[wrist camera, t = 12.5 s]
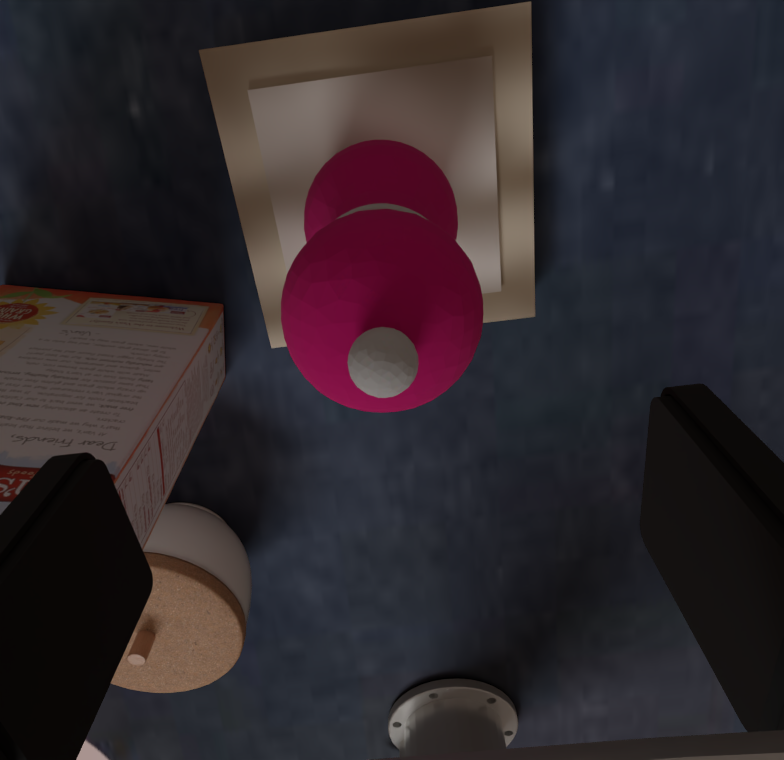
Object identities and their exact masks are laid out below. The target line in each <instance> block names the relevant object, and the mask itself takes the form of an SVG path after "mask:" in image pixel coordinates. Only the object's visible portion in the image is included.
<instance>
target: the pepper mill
mask: <svg viewBox="0 0 784 760" xmlns="http://www.w3.org/2000/svg"><path fill="white" fill-rule="evenodd" d="M457 230H458V215H457V205H456V201H455V197H454V193H453V190H452V188H451V185H450V183H449V181H448V179H447V178H446V176H445V174H444V173H443V171H442V170H441V169H440V168H439V166H438V165H437V164H436V163H435V162H434V161H433V160H432V159H431V158H429V157H428V156H427V155H426V154H425V153H423V152H421V151H420V150H418V149H416V148H414V147H412V146H410V145H407V144H404V143H402V142H397V141H392V140H369V141H363V142H360V143H357V144H354V145H351V146H349V147H347V148H345V149H343V150H342V151H340V152H338V153H336V154H335V155H334V156H333V157H332V158H331V159H330V160H328V161H327V162H326V163H325V164H324V165H323V167H322V168H321V169H320V171H319V172H318V173H317V175H316V176H315V178H314V180H313V182H312V184H311V186H310V189H309V191H308V195H307V198H306V202H305V210H304V232H305V237H306V242H307V243H306V244H305V245H304V247H303V248H302V249H301V250H300V252H299V253H298V255H297V256H296V258H295V259H294V261H293V263H292V265H291V267H290V269H289V271H288V273H287V276H286V280H285V283H284V287H283V291H282V298H281V323H282V329H283V334H284V339H285V342H286V344H287V347H288V350H289V352H290V355H291V357H292V359H293V361H294V363H295V364H296V366H297V367H298V368H299V370H300V371H301V373H302V374H303V376H304V377H305V378H306V379H307V380H308V381H309V382H310V383H311V384H312V385H313V386H314V387H315V388H316V389H317V390H318V391H319V392H321V393H322V394H324V395H325V396H327V397H328V398H330V399H331V400H333V401H335V402H338V403H340V404H342V405H344V406H346V407H350V408H354V409H357V410H361V411H367V412H398V411H402V410H407V409H412V408H415V407H418V406H420V405H423V404H425V403H427V402H430V401H432V400H433V399H435V398H436V397H438V396H439V395H441V394H442V393H444V392H445V391H446V390H448V389H449V388H450V387H451V386H452V385H453V384H454V383H455V382H456V381H457V380H458V379H459V378H460V377H461V375H462V374H463V372H464V371H465V369H466V368H467V366H468V365H469V364H470V362H471V361H472V358H473V356H474V353H475V351H476V348H477V345H478V343H479V340H480V338H481V332H482V325H483V315H484V313H483V297H482V291H481V286H480V283H479V280H478V278H477V275H476V272H475V270H474V267H473V264H472V262H471V260H470V259H469V257H468V256H467V255H466V253H465V252H464V251H463V250H462V248H461V247H460V246H459V245H458V243H457V242H456V238H457Z"/></svg>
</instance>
